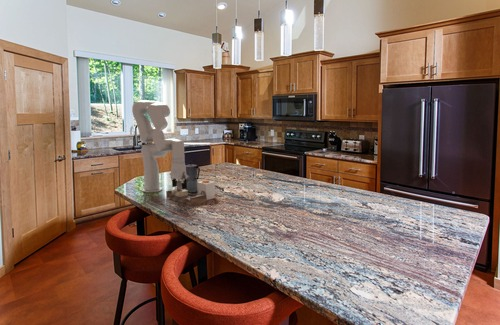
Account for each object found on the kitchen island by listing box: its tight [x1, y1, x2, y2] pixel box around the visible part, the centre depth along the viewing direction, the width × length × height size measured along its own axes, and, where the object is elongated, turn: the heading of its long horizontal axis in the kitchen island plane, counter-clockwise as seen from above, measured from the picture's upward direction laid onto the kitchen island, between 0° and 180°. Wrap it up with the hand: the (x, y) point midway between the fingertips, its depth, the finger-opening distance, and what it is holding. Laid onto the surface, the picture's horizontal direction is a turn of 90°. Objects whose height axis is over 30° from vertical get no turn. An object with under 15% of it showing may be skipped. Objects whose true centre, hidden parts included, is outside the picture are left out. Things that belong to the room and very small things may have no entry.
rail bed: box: [165, 188, 208, 207], centre depth 198 cm, size 24×11×4 cm, turn 49°
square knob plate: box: [171, 180, 189, 197], centre depth 201 cm, size 7×7×9 cm
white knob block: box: [197, 180, 216, 201], centre depth 202 cm, size 8×8×10 cm
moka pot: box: [185, 161, 201, 193], centre depth 217 cm, size 10×15×20 cm, turn 55°
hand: (179, 187), depth 201 cm, fingers open, 9 cm apart
